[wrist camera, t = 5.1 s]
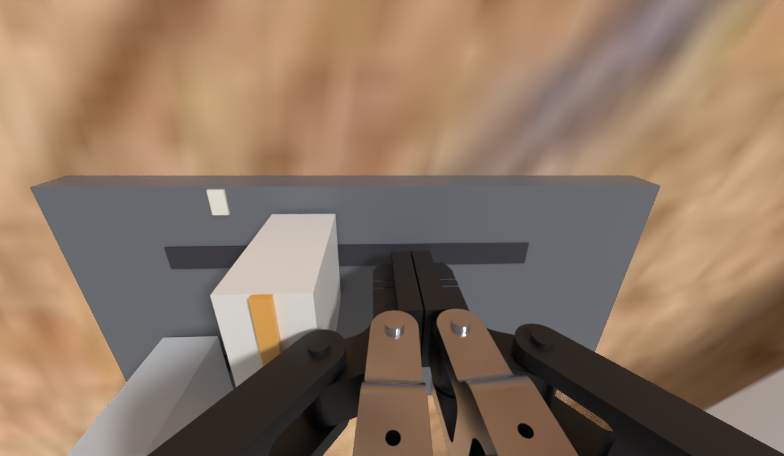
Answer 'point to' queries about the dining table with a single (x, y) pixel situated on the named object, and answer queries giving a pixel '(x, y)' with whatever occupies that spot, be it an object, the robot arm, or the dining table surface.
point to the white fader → (279, 290)
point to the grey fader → (159, 398)
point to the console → (348, 245)
